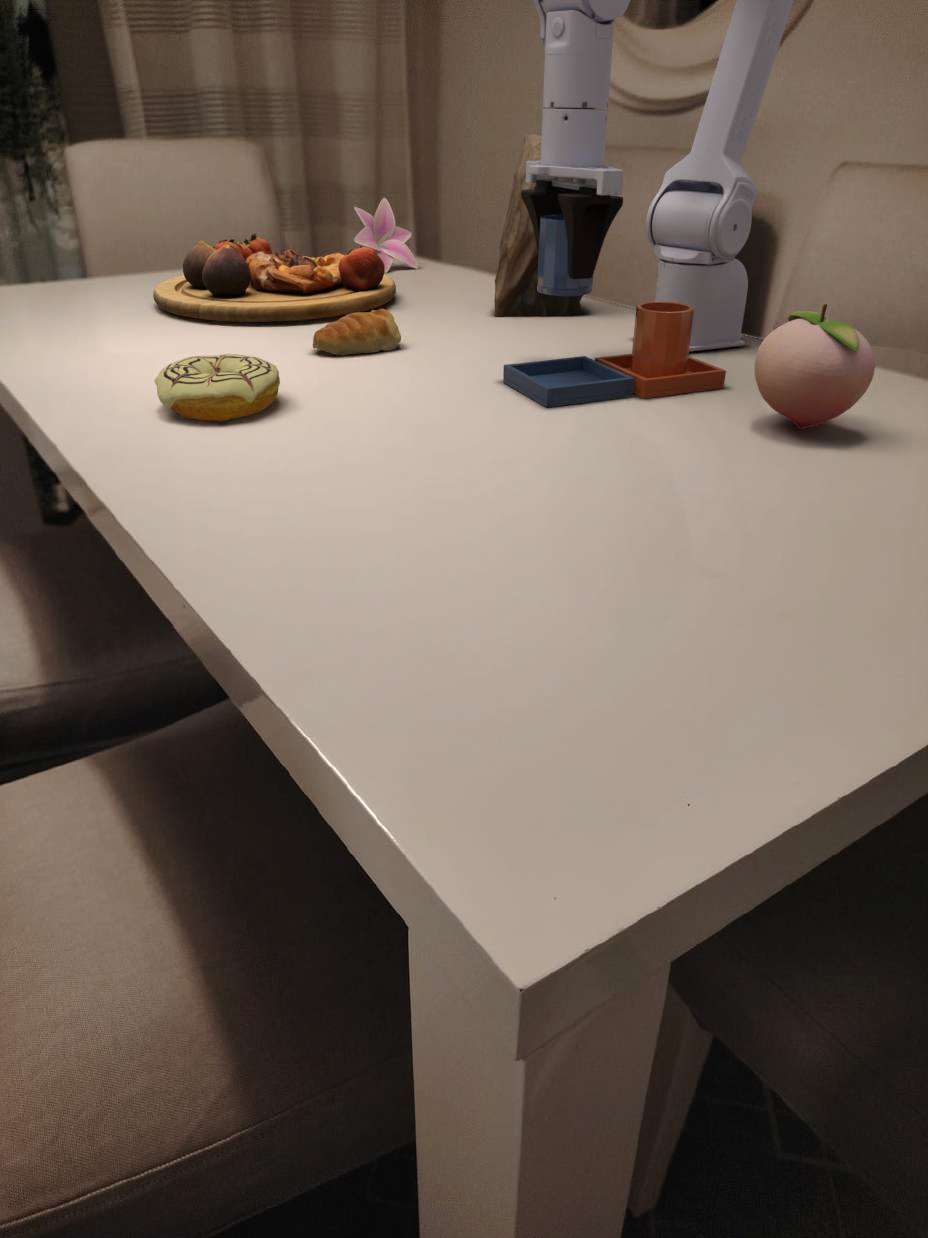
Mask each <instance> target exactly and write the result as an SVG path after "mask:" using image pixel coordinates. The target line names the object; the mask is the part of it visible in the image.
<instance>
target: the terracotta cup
mask: <svg viewBox="0 0 928 1238" xmlns="http://www.w3.org/2000/svg"><path fill="white" fill-rule="evenodd" d="M693 315H694V308H693V307H692V306H690V305H687V304H683V303H676V302H663V301H658V302H655V301H646V302H645V301H644V302H641V303H639V304H638V303H637V305H636V307H635V315H634V317H635V318H634V327H633V337H632V338H633V340H632V349H631V350H632V351H631V354H632V359H631V372H633V373H635V374H638V375H640V376H642V377H644V378H647V379H648V378H656V377H664V376H672V375H680V374H686V371H687V363H688V356H690V355H689V353H690V352H689V347H690V339H691V331H692V323H693Z"/></svg>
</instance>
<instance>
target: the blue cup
mask: <svg viewBox="0 0 928 1238" xmlns="http://www.w3.org/2000/svg"><path fill="white" fill-rule="evenodd" d="M537 283H538V285H537V291H538V292H540V293H543V294H548V295H556V296H579V295H583V296H586V295H589V294H591V293H592V291H593V285H594V276H593V277H592V278H585V279H571V278H570V276H569V270H568V251H567V234H566V226H565V221H564V217H563V214H554V215H544V216H540V234H539V257H538V280H537Z"/></svg>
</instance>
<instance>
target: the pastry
mask: <svg viewBox="0 0 928 1238" xmlns="http://www.w3.org/2000/svg"><path fill="white" fill-rule="evenodd" d="M401 341H402V334H401V332H400V329H399V326H398V324H397V322H396V321H395V317H394V315H393V314H392V313H391V312H390V311H389V310H387V309H384V308H379V309H376V310H374V309H371V311H369V312H368V311H367V312H365V311H363V312H356V313H351V314H345V315H343V316H341V317H340V318H339V319H337V320H336V321H332V322H329V323H326V325H325V326H323V327H321V328H320V329H318V330H316V331H315V332H314V335H313V337H312V348H313V349H317V350H321V351H323V352H326V353H330V354H334V355H335V356H339V355H341V356H347V355H360V354H364V353H366V354H372V353H378V352H380V351H384V352H389V351H392V350H395V349H397V348H399V344H400V343H401Z"/></svg>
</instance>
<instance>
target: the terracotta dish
mask: <svg viewBox="0 0 928 1238" xmlns="http://www.w3.org/2000/svg"><path fill="white" fill-rule="evenodd" d="M631 359H632V353H625V354H616V355H608V356H607V355H606V356H598V357H594V360H595V361H597V362H599V363H602V364H604V365H606V366H608V367H610V368H613V369H615V370H617V371H619V372H622V373H624V374H626V375H628V376H630V377H633V378H634V388H633V395H635V396H637V397H639V398H642V399H651V398H659V397H667V396H674V395H675V396H676V395H682V394H689V393H696V392H704V391H712V390H713V391H714V390H720V389H724V388H725V381H726V375H727V370H726V369H724V368H721V367H718V366H717V365H713V364H711V363H709V362H705V361H702V360H700V359H698V358H695V357H692V356H690V355H688V363H687V371H686V374H680V375H672V376H664V377H656V378H648V379H647V378H644V377H642V376H640V375H638V374H635V373H633V372H631Z"/></svg>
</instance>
